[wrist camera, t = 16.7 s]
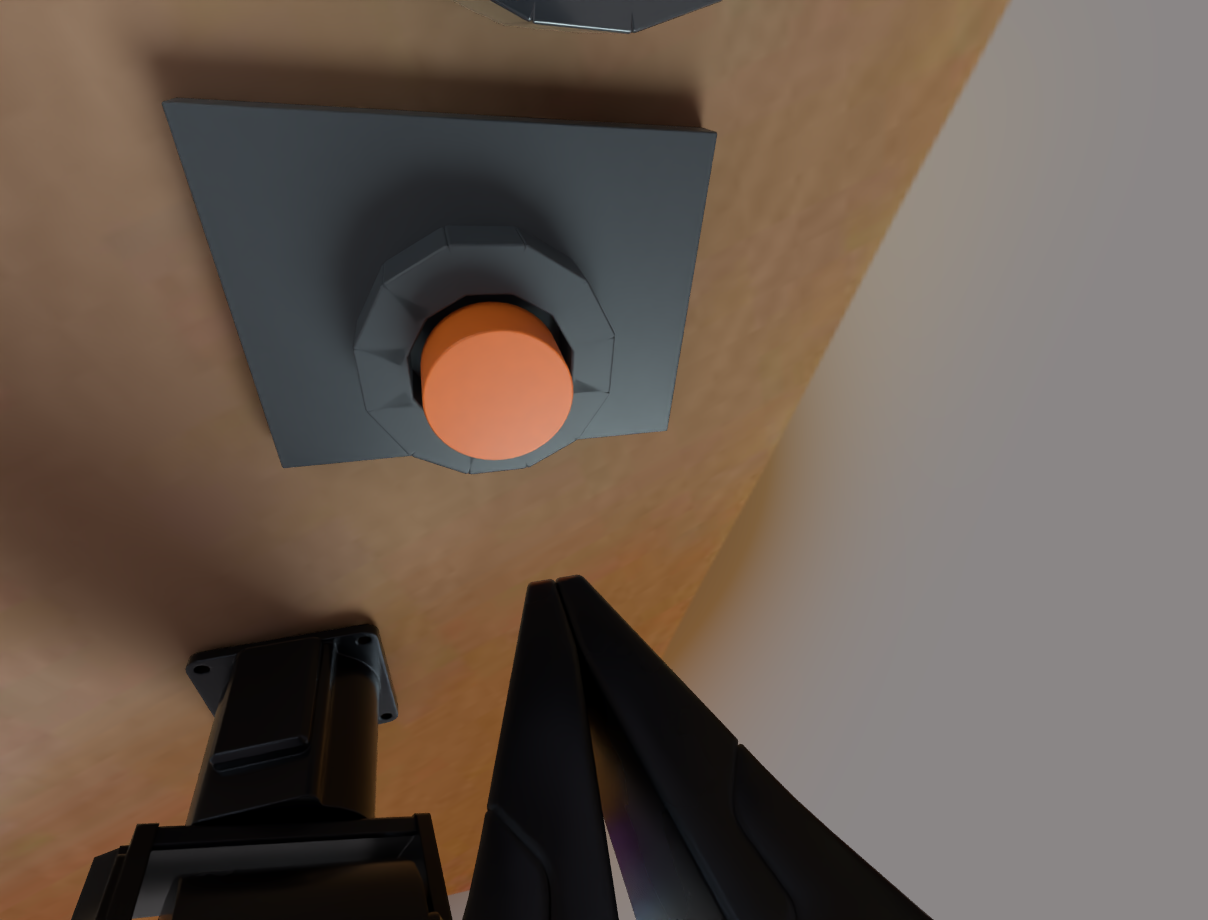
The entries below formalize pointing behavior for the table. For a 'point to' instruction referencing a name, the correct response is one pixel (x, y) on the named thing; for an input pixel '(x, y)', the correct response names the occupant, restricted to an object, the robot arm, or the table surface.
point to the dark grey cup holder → (584, 13)
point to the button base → (442, 259)
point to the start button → (494, 381)
